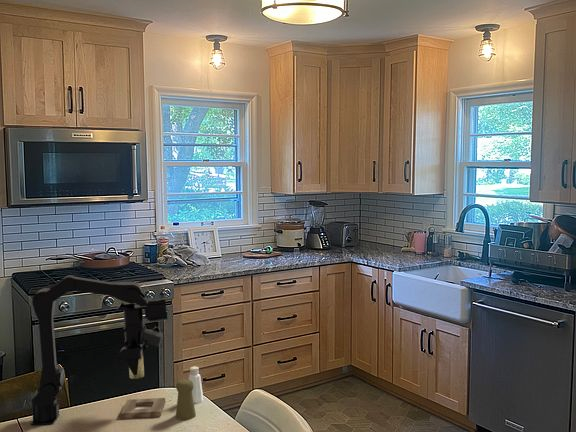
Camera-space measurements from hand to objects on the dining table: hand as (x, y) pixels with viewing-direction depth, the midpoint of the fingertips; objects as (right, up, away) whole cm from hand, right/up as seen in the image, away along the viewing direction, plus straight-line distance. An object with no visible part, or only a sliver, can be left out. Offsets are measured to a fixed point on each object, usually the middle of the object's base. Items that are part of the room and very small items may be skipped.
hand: (136, 372), depth 179 cm
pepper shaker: (+16, -12, -4) cm, 21 cm away
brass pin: (0, -1, 0) cm, 1 cm away
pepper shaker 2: (+17, -12, +8) cm, 22 cm away
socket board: (+2, -12, +1) cm, 12 cm away
